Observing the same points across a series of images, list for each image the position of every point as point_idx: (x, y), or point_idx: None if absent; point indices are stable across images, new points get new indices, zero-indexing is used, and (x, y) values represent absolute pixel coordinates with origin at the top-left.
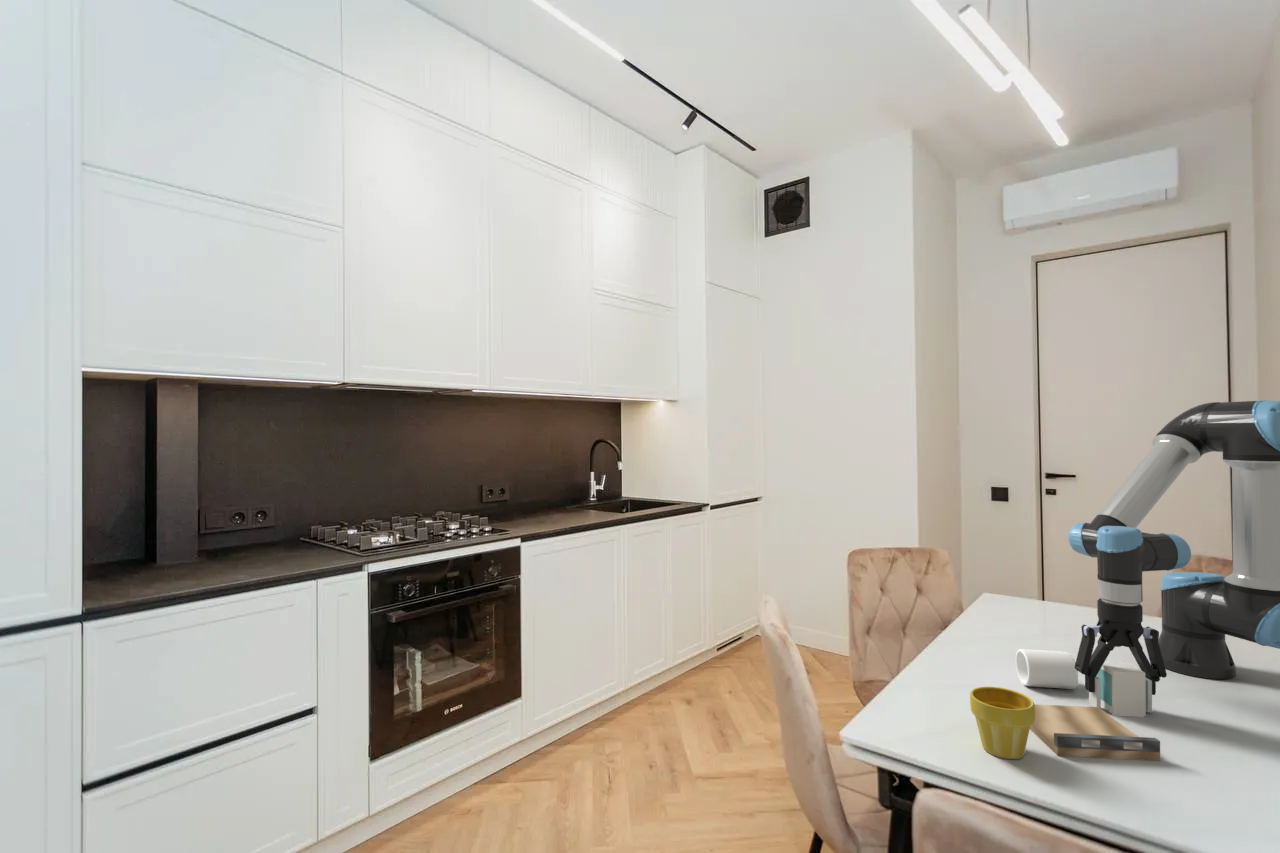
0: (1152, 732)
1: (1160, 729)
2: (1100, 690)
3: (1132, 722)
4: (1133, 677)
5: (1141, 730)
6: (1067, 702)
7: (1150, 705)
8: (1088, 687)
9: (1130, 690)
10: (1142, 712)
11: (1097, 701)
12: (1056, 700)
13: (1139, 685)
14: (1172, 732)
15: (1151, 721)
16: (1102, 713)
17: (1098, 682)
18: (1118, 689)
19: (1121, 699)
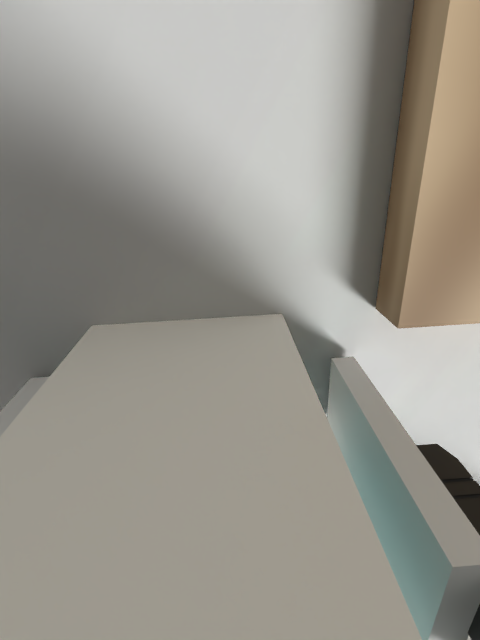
0: (164, 46)
1: (76, 122)
2: (387, 450)
3: (222, 220)
4: (47, 634)
5: (232, 76)
6: (437, 431)
7: (15, 404)
8: (469, 478)
9: (151, 441)
10: (102, 335)
11: (370, 388)
12: (477, 443)
13: (19, 504)
14: (2, 73)
15: (84, 258)
16: (452, 214)
17: (446, 520)
18: (283, 433)
19: (242, 374)
